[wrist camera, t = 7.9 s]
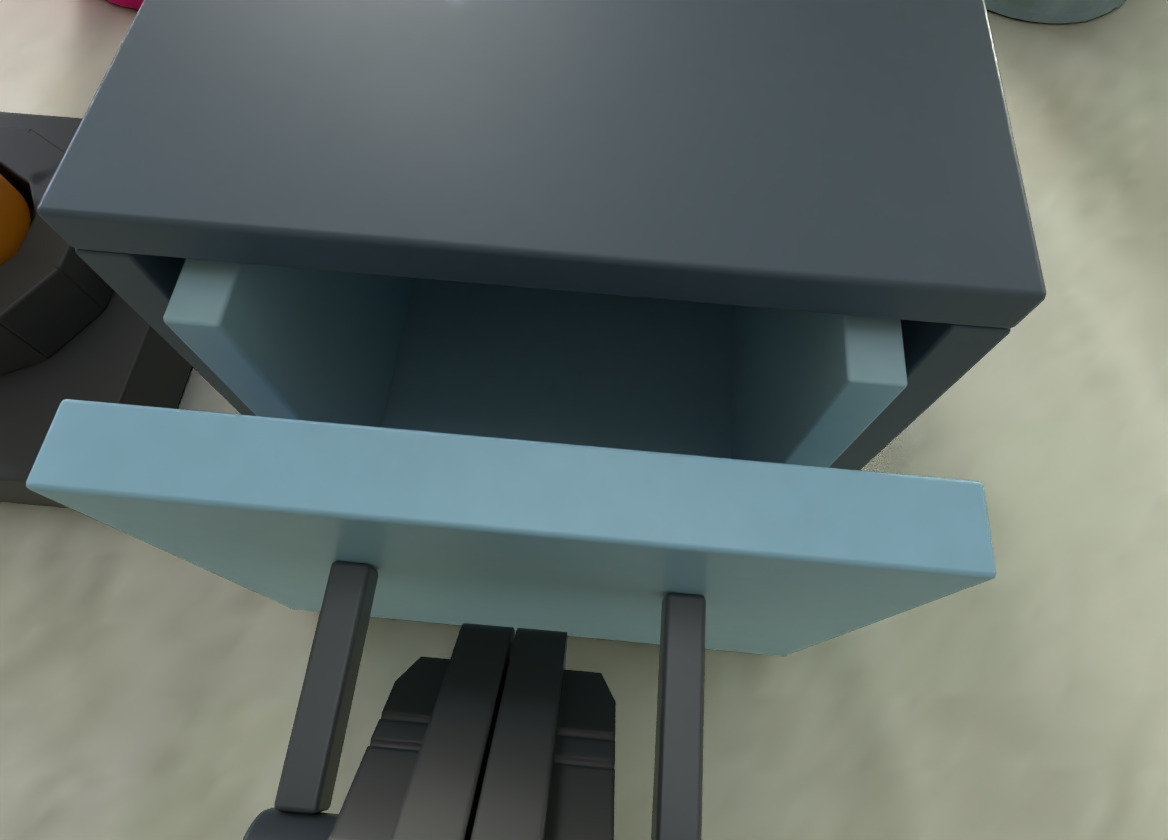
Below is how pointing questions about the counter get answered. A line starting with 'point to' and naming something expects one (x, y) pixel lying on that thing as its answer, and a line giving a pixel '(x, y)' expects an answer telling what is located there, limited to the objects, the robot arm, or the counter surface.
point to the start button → (12, 220)
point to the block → (63, 320)
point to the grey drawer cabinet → (573, 159)
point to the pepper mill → (128, 3)
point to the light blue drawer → (523, 482)
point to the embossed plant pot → (1053, 9)
